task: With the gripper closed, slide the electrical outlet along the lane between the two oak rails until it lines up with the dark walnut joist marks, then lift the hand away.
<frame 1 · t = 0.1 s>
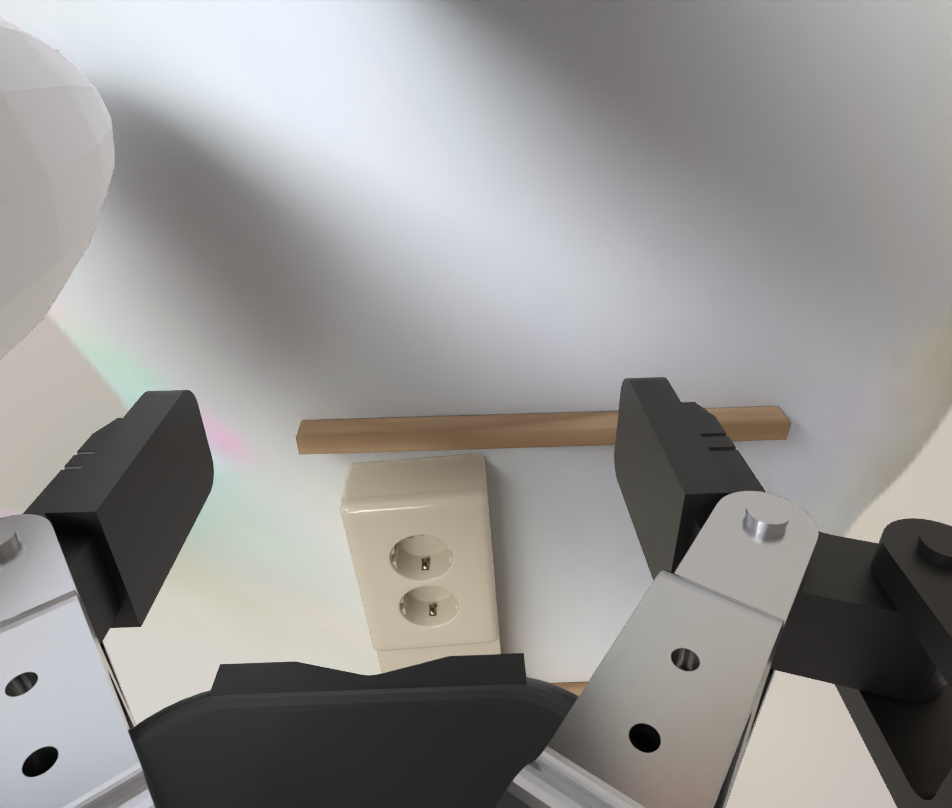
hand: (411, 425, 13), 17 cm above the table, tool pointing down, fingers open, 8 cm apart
cup: (86, 106, 25), on the table
joist track: (534, 575, 39), on the table
electrical outlet: (434, 571, 40), on the table
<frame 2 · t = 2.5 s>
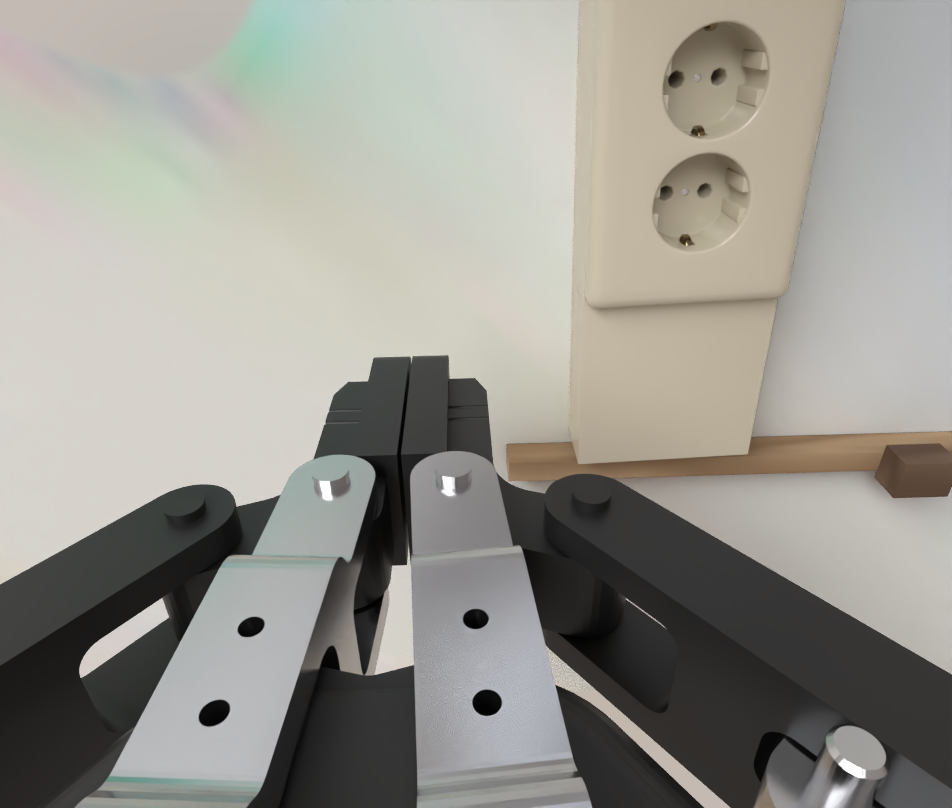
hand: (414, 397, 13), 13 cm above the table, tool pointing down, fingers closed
joist track: (820, 208, 25), on the table
electrical outlet: (661, 225, 26), on the table
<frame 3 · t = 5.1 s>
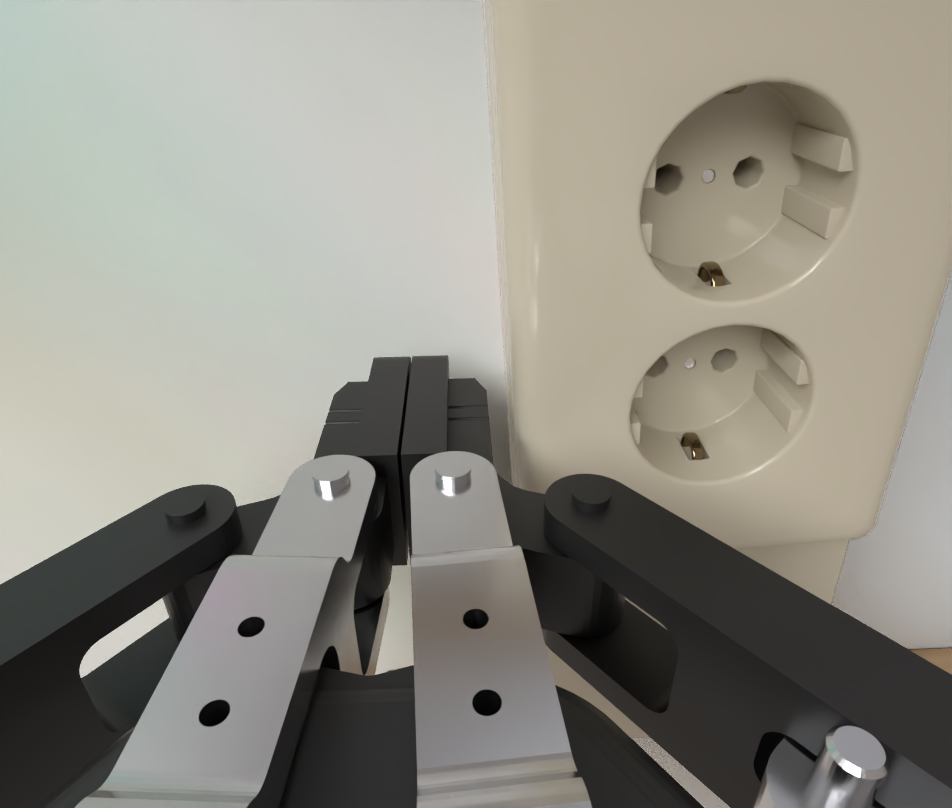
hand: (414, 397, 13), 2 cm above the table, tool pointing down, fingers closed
joist track: (873, 344, 15), on the table
electrical outlet: (651, 384, 16), on the table
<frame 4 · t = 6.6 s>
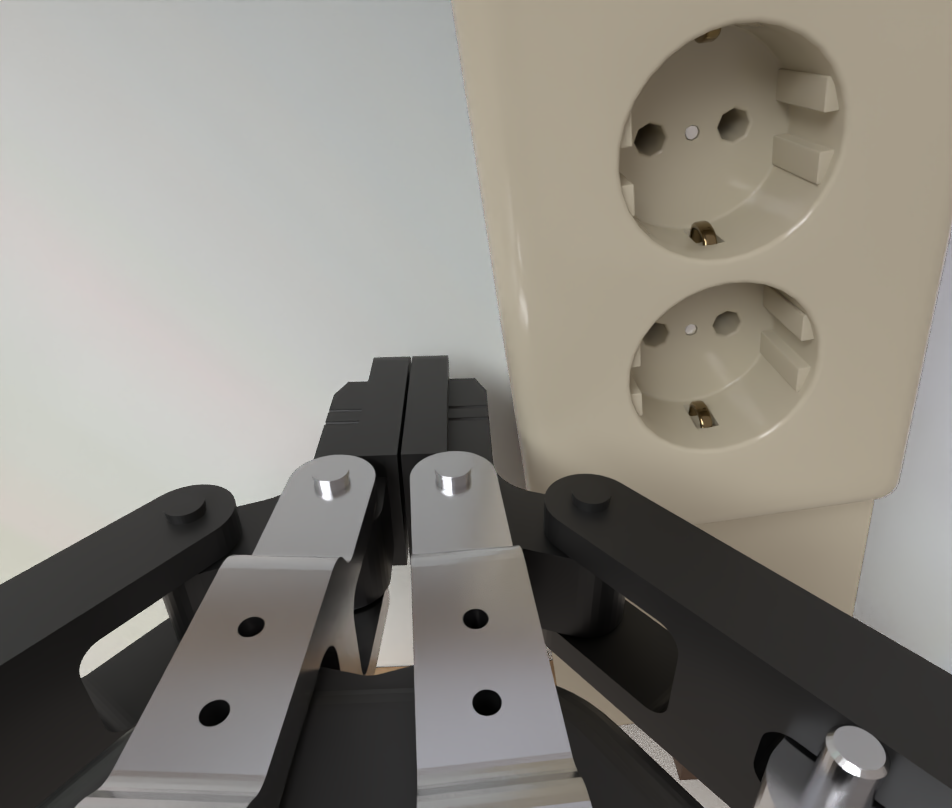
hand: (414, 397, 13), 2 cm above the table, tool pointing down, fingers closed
joist track: (496, 352, 15), on the table
electrical outlet: (658, 357, 16), on the table, touching gripper
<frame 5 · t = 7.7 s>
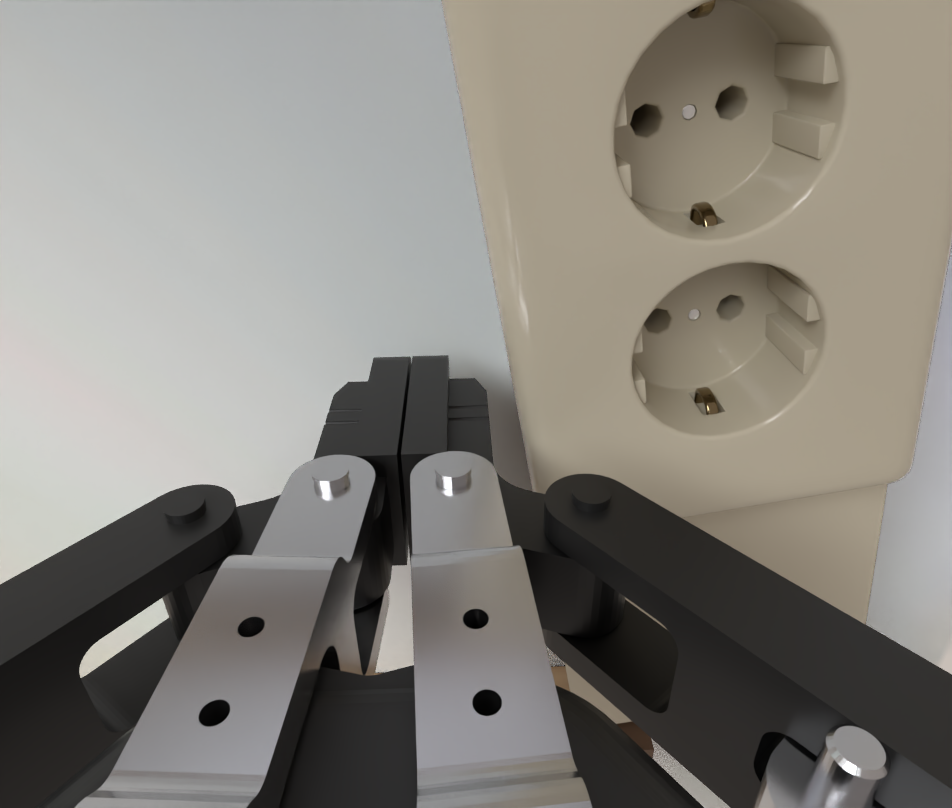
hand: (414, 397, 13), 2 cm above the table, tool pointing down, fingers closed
joist track: (352, 364, 15), on the table
electrical outlet: (662, 345, 15), on the table
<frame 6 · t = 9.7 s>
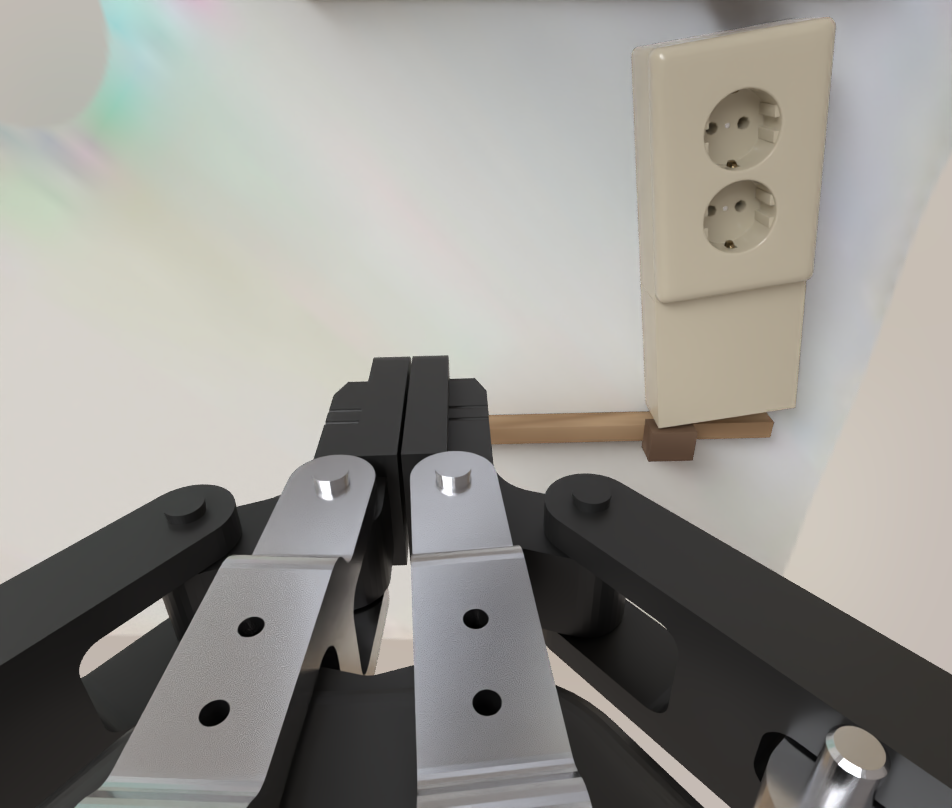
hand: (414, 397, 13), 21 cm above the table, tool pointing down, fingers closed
joist track: (564, 229, 32), on the table
electrical outlet: (707, 233, 33), on the table
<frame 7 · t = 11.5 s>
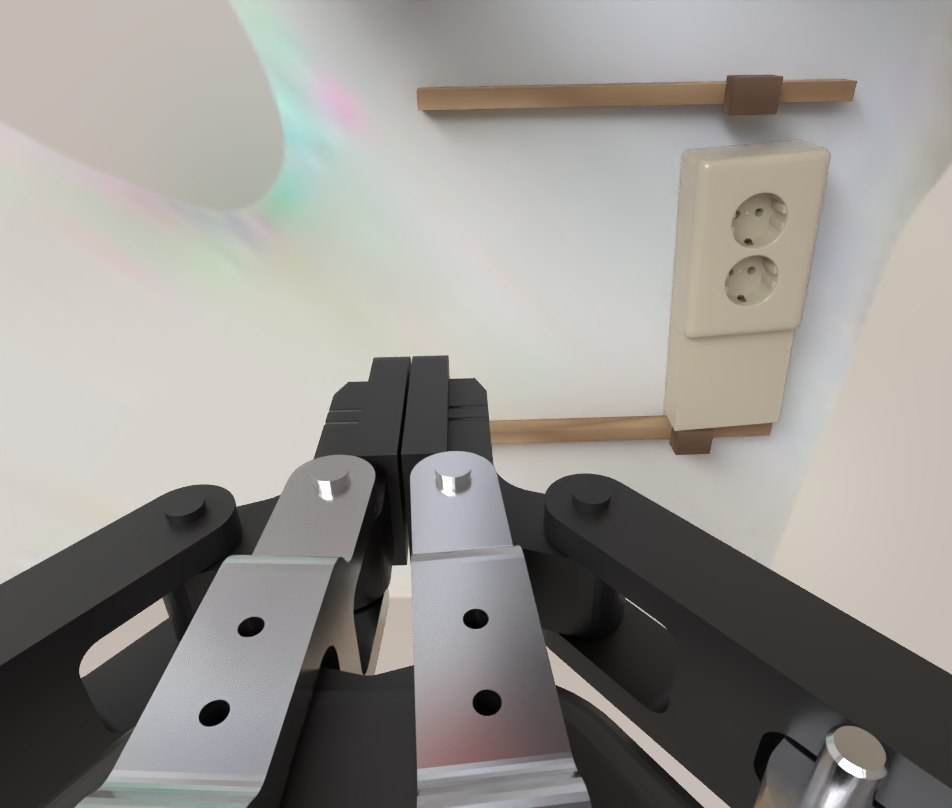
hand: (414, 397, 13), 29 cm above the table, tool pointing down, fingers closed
joist track: (613, 279, 43), on the table
electrical outlet: (723, 286, 44), on the table
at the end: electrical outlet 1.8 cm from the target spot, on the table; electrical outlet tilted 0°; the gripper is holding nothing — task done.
